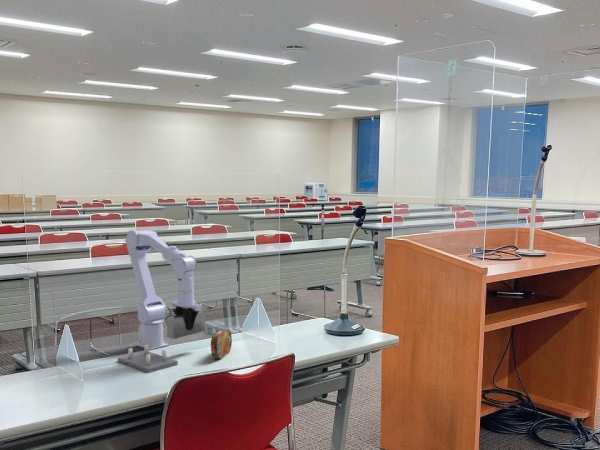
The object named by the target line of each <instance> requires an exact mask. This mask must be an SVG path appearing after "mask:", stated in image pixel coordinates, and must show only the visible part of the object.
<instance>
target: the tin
mask: <svg viewBox="0 0 600 450" xmlns="http://www.w3.org/2000/svg"><path fill="white" fill-rule="evenodd" d="M232 339H233V338H232V334H231V331H230V329H228V328H226V329H220V330H219V331H218V332H216V333H215V334H214V335H212V337H211V340H210V349H211V350H210V351H211V356H212V358H213V359H217V360H218V359H220V360H222V359H223V358H225V357H226V356H227V355H229V353H230V352H231V350H232V342H233V341H232Z"/></svg>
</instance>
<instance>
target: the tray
mask: <svg viewBox="0 0 600 450" xmlns="http://www.w3.org/2000/svg"><path fill="white" fill-rule="evenodd" d="M143 349H144V351H141V352H136V353H133V347H132V348H127V353H128V354H127V355H124V356H119V357H117V362H119V361H120V362H119V363H121V362H123V363H122V364H124V363H126V364H125V365H127V364H129V365H131V366H130V367H132V366H133V367H132V368H135V369H137V368H138V370H141V371H143V372H145V373H148V374H149V373H153V372H156V371H160V370H162V369H167V368H171V367H174V366H178V360H175V359H173V358H170V357H167V350H165V349H164V350H162V351H161V355H160V354H158V353H154V352H151V351H149V349H148V345H144V348H143ZM129 365H128V366H129Z"/></svg>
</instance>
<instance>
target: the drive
mask: <svg viewBox="0 0 600 450" xmlns="http://www.w3.org/2000/svg"><path fill="white" fill-rule="evenodd" d="M205 316H206V312H205V311H202V310H200V311H199V312H198V314H197V316H196V319H195V322H194V326H193V329H191V330H187V326H186V318H185V315H184V314H181V315H173V316H168V317H167V316H166V325H167V326H166V329H167V332H166V333H167V336H166V337H167V339H173V340H175V339H179V338H183V337H187V336H191V335H195V334H199V333H204V332H206V317H205Z"/></svg>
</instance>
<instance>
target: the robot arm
mask: <svg viewBox="0 0 600 450" xmlns="http://www.w3.org/2000/svg"><path fill="white" fill-rule="evenodd" d="M124 241H125V244H126V248H127V251H128V254H129V258H130V261H131V266H132V269H133V273H134V276H135V281H136V282H137V287H138V291H139V294H140V298H141V300H140V301H139V302H138V303H137V305H136V307H137V318H138V321H139V322H140V324H139V326H138V329H137V331H138V343H137V344H136V346H137V347H140V348H143V349H144V345H148V350H154V349H159V348H163V347H167V346H169V344H168V343H166V342H164V322H165V319H167V316H168V308H167V306H166V304H165V303H164V300H163V298H161V297H160V296H159V295H156V294H157V293H156V291H155V290H156V289H155V287H154V284H153V283H154V282H153V280H152V279H153V278H152V276H151V273H150V269H149V265H148V263H147V258H146V255H147V253H149V252H150V251H151V250H152V248H153V249H154V250H156V251H157V252H158V253H160V254H162V255H161V256H162V258H163V260H164V261H166V262H167V263H168V264H169V265H171V266H172V267H173V268H172V269H173V271H174V273H175V277H176V282H177V284H176V287H177V290H176V291H177V296H176V297H177V300H171V301H170V307H172V308H173V307H175V308H173V309H172V311H173V313H174V316H176V315H181V314H184V315H185V318H186V326H187V330H191V329H193V326H194V322H195V319H196V316H197V314H198V312H199V311H202V304H200V303H197V301H196V300H195V290H194V289H195V286H194V285H195V282H194V279H195V278H194V275H195V274H194V273H195V271H196V270H197V267H198V264H197V263H198V262H197V260H196V258H195V257H194V256H193V255H186V254H185V253H184V252H182V251H181V250H180V249H178V247H177V246H176V245H168V244H167V243H165V241H163V240H162V239H161V238H160V237H159V236H158V233H157V232H156V231H154V229H141V230H133V229H132V230H128V232H127V234H126V237H125V239H124Z"/></svg>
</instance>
